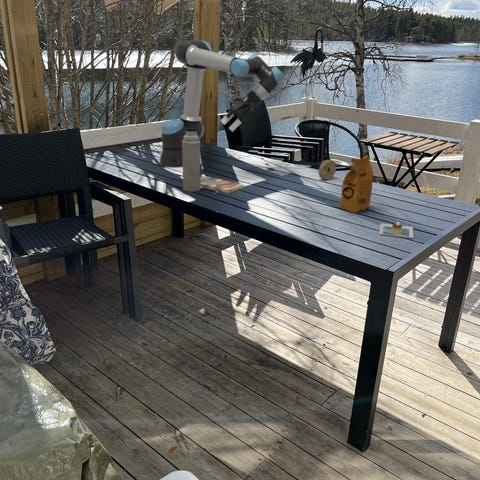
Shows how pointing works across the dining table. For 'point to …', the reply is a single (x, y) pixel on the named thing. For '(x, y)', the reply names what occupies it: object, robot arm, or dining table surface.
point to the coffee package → (357, 186)
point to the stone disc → (327, 169)
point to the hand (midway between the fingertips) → (226, 126)
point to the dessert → (396, 229)
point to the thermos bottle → (191, 160)
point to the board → (219, 184)
